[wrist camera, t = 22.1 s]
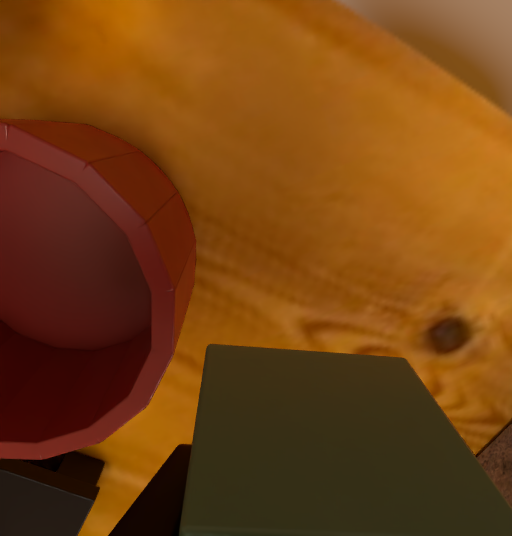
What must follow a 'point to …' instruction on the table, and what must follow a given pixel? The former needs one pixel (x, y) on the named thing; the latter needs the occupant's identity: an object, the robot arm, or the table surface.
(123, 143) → the bowl
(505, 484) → the geological specimen
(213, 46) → the table surface
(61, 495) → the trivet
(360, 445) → the block
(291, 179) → the table surface
